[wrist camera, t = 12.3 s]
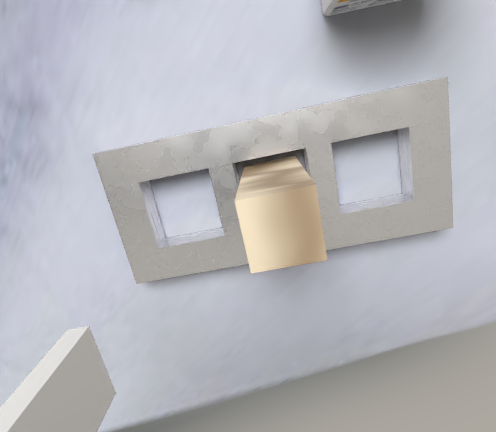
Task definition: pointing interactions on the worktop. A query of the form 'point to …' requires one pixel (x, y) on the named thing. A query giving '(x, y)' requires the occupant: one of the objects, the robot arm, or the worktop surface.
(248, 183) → the beech peg
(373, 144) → the worktop surface
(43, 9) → the worktop surface
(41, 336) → the worktop surface
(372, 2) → the container
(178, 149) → the slotted peg board
